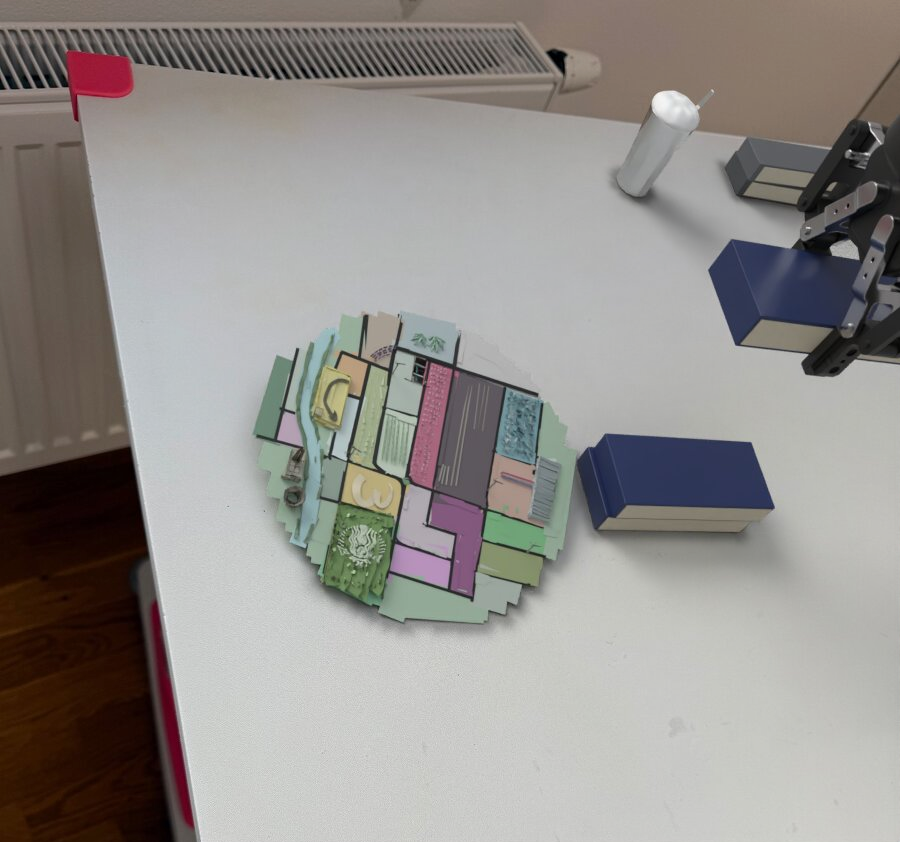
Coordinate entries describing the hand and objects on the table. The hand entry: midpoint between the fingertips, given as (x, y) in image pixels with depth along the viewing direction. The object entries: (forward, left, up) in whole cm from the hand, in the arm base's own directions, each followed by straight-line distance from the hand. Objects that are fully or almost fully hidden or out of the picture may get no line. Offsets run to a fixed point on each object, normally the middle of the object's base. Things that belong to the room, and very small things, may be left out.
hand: (797, 329), depth 62 cm
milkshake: (-7, -33, -17) cm, 37 cm away
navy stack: (+1, +2, -17) cm, 17 cm away
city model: (+21, +1, -17) cm, 27 cm away
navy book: (0, 0, +1) cm, 1 cm away
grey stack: (-26, -36, -17) cm, 47 cm away
